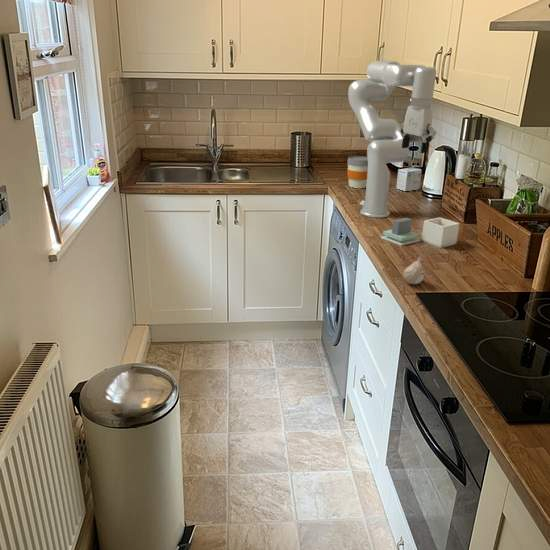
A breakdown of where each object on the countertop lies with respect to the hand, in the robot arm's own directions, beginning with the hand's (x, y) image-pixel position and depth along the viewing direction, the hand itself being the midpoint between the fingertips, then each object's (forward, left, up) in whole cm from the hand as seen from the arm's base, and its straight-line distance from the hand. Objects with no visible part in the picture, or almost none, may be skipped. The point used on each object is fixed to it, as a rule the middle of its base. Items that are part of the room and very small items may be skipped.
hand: (414, 150), depth 210 cm
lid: (+8, -11, -30) cm, 33 cm away
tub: (+18, -1, -31) cm, 36 cm away
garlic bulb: (+39, -39, -32) cm, 64 cm away
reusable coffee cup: (-64, +34, -32) cm, 79 cm away
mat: (+8, -11, -31) cm, 34 cm away
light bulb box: (-47, +53, -32) cm, 78 cm away
